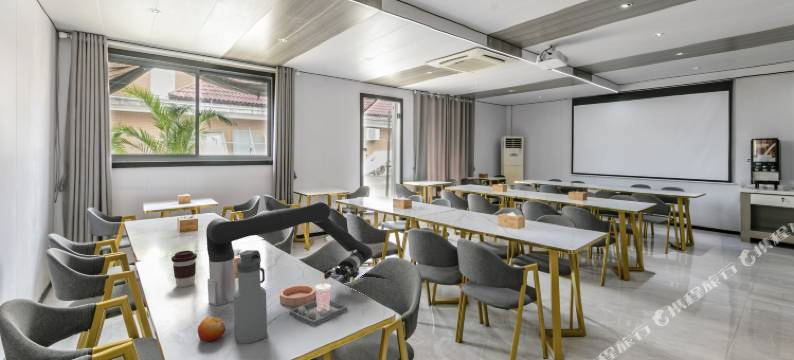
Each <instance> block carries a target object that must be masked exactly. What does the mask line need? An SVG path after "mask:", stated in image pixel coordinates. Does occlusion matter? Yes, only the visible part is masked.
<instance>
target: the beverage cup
mask: <svg viewBox="0 0 794 360" xmlns="http://www.w3.org/2000/svg"><path fill="white" fill-rule="evenodd" d="M314 287H315V290H316V298H315V301H317V305H316V311H317V312H319V311H320V310H321V309H322V308H326V309H327V311H330V307H331V306H330V300H331V299H330V298H331V289H332V285H331V284H330V283H326V282H325V283H324V272H322V273H321V283H318V284H315V285H314Z"/></svg>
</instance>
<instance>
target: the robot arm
mask: <svg viewBox="0 0 794 360" xmlns="http://www.w3.org/2000/svg"><path fill="white" fill-rule="evenodd" d="M330 216H331V207H330V206H329V205H328V204H327V203H325V202H323V201H322V202H321V201H318V202H314V203H312V204H308V205H305V206H301V207H300V206H299V207H291V208H289V207H288V208H280V209H274V210H268V211H264V212H263V211H262V212H261V213H258V214H256V215H253V216H250V217H248V218H243V219H236V220H227V219H224V218H215V219H212V220H211V221H210V222H209V223H208V225H206V226H207V227H206V231H205V233H206V234H205V235H206V251H207V255H208V264H209V265H208V268H209V278H207V292H208V293H207V294H208V300H207V301H208V303H209V304H211V305H213V306H214V307H217V306H222V305H227V304H231V303H234V301H233V296H234V294H235V292H236V291H237V290H236V269H235V265H236V264H235V251H234V247H233V243H232V242H234V241H238V240H241V239H244V238H248V237H252V236H258V235H259V236H261V235H264V234H271V233H276V232H280V231H284V230H286V229H287V230H288V229H290V228H293V227H296V226H299V225H302V224H306V223H307V224H308V223H312V224H313V225H315V226H317V227H318V228H320V229H321V230H322V231H324V232H325V233H326V234H328V235H329V237H331V238H332V239H333V240H334V241H336V242H337V243H338V244H339V245H340V246H341V247H342V248H343V249H344V250H345V251H346V252H353V251H354V252H353V253H351V254H350V255H348V256H346V257H345V258H344V259H342V260H341V261H340V262H339V264H338V266H335V267H333V265H329V266H328V267H326V268H324V270H323V271H324V272H323V279H325V280H328V279H329V278H330V277H338V276H343V280H344V281H347V280H349V279H352V278H353V279H355V278H357V277H358V276H359V275H360V267H361V266H362V265H363V264H365V263H366V262H367V261H368V260H370V259H371V258H372V257H373V251H372V249H371V248H370V246H368V245H367V244H365V243H363V242H361V241H359V240H357V239H356V238H355V237H354V236H353V235H352V234H351V233H350V232H348V230H346V229H345V228H343V227H342V226H340V225H338V224H337V223H335V222H334V221H333V220H331V219H330V218H329V217H330Z"/></svg>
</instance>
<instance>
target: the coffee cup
mask: <svg viewBox="0 0 794 360" xmlns="http://www.w3.org/2000/svg"><path fill="white" fill-rule="evenodd" d="M197 258H198V254H197V253H195V252H193V250H182V251H177V252H176V253H175V254H174V255H173V256H171V258H170V259H171V262H172V263H173V265H172V267H173V272H174V273H173V275H174V279H175V285H176V287H178V288H186V286H188V287H190V285H191V286H193V285H194V284H195V282H196V273H197V272H196V271H197V270H196V269H197V267H196V266H197V262H196V259H197Z"/></svg>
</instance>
